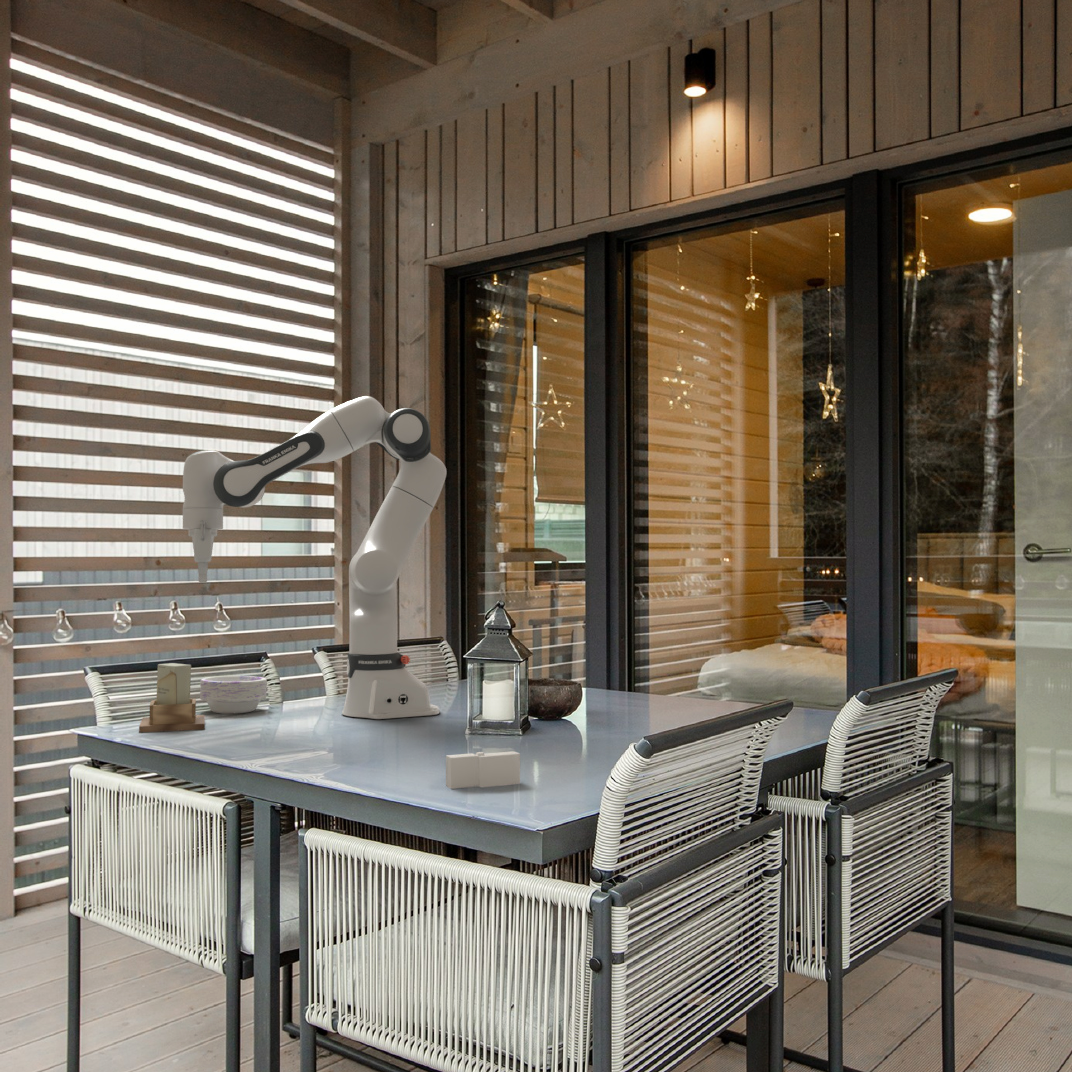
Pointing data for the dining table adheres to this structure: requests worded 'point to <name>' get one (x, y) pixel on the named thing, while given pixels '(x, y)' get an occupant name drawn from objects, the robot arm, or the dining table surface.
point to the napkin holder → (482, 769)
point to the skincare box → (173, 684)
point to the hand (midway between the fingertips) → (202, 582)
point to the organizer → (172, 718)
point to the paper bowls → (233, 693)
